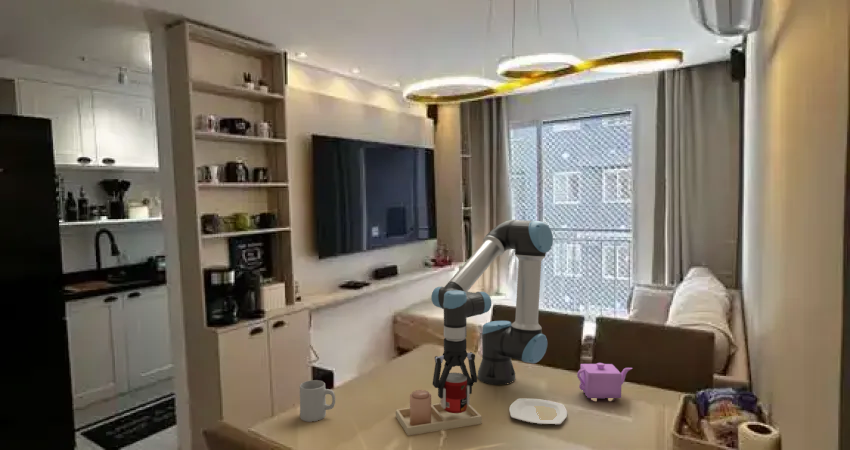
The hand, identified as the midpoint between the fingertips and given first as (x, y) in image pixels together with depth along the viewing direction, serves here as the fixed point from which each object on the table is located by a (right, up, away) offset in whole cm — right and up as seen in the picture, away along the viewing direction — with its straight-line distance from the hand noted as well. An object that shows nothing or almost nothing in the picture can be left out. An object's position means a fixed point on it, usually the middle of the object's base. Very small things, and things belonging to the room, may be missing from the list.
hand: (455, 405), depth 168 cm
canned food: (0, -1, 0) cm, 2 cm away
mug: (-46, -5, +3) cm, 47 cm away
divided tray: (-6, -5, -2) cm, 8 cm away
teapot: (+56, -4, +18) cm, 59 cm away
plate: (+28, -5, +4) cm, 29 cm away
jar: (-11, -4, -4) cm, 13 cm away
